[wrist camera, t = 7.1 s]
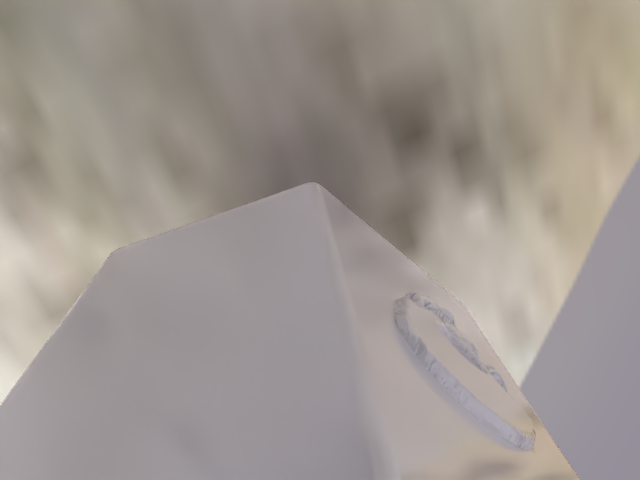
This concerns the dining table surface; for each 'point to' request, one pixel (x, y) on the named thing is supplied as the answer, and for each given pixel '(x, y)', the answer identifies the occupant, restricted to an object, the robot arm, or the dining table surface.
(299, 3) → the dining table surface
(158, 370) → the jar
